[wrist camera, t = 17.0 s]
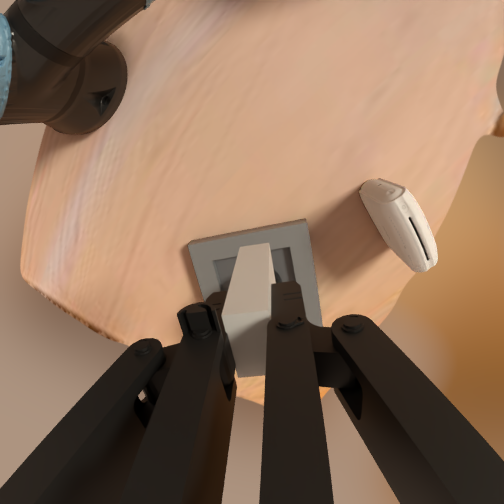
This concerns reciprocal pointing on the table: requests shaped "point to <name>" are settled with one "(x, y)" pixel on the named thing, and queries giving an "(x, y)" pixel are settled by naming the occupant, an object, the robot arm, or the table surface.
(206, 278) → the base plate
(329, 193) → the table surface
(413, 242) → the photo printer
